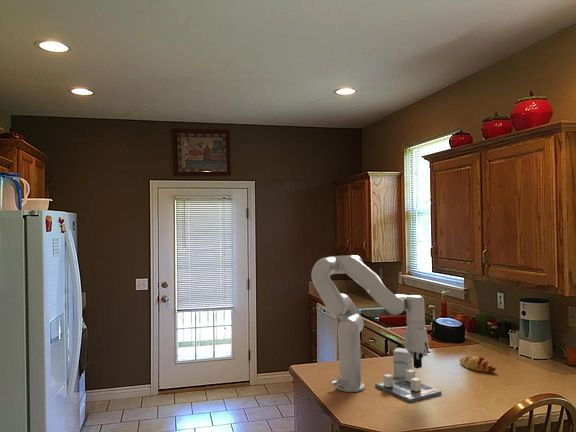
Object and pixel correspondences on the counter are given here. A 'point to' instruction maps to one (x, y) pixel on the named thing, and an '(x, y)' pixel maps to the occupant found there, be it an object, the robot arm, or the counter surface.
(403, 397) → the panel
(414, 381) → the block
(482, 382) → the counter surface
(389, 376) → the block
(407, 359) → the supplement box
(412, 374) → the block
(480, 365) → the croissant
